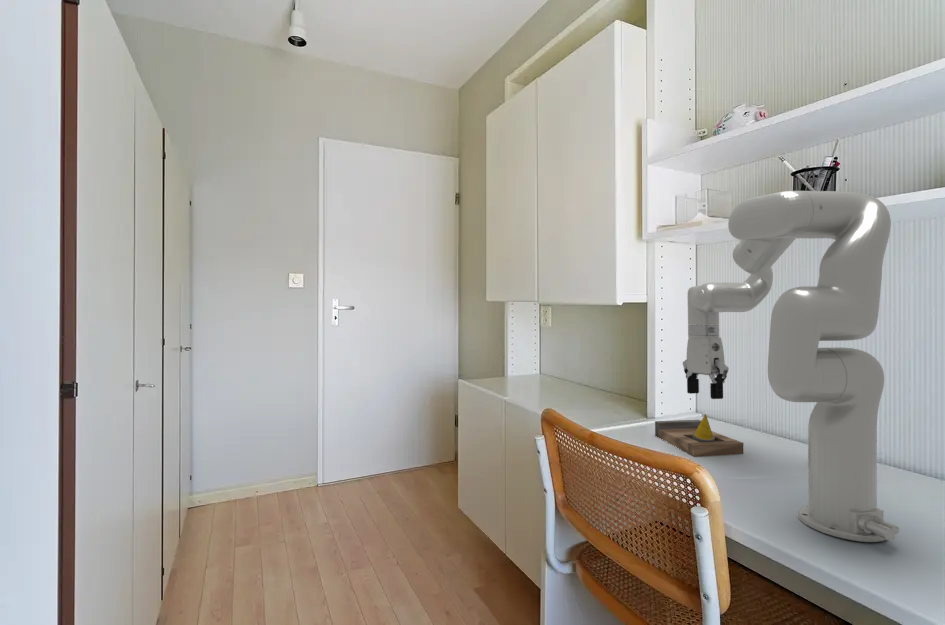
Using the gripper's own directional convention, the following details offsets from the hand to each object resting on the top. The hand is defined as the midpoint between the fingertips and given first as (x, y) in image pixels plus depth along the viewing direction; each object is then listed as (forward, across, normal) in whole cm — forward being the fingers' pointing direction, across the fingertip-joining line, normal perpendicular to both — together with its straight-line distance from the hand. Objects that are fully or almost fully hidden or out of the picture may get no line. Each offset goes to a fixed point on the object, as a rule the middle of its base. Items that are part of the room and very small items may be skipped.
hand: (704, 395), depth 124 cm
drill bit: (+14, +1, 0) cm, 15 cm away
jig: (+14, +4, 0) cm, 15 cm away
